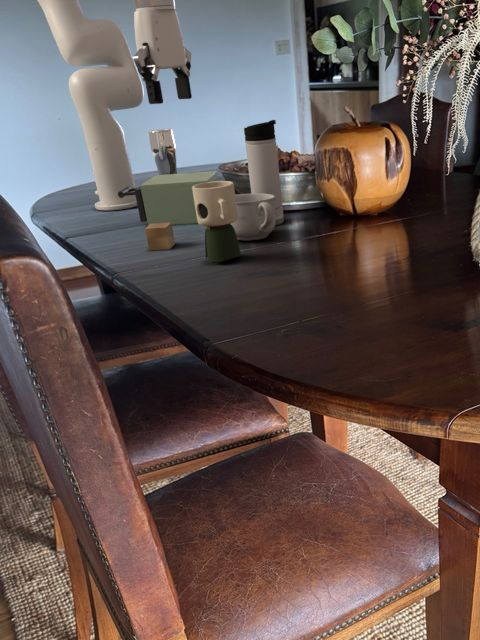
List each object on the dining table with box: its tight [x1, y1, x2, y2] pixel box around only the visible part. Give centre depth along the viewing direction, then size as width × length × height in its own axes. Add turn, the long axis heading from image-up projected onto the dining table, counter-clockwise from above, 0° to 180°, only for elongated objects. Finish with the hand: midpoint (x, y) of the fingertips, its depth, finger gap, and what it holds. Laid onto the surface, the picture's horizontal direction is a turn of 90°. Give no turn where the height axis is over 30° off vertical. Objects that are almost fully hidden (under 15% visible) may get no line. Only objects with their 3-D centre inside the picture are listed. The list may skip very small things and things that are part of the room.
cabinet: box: [139, 170, 220, 227], centre depth 148 cm, size 15×13×9 cm
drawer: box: [118, 186, 147, 223], centre depth 148 cm, size 18×12×7 cm, turn 87°
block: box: [144, 222, 176, 251], centre depth 127 cm, size 4×4×4 cm
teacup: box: [231, 193, 276, 241], centre depth 126 cm, size 14×11×8 cm
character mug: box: [192, 180, 242, 263], centre depth 113 cm, size 11×7×13 cm, turn 24°
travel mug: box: [243, 119, 285, 226], centre depth 134 cm, size 6×7×20 cm
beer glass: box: [148, 128, 178, 175], centre depth 186 cm, size 7×7×15 cm
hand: (171, 101), depth 133 cm, fingers open, 9 cm apart
